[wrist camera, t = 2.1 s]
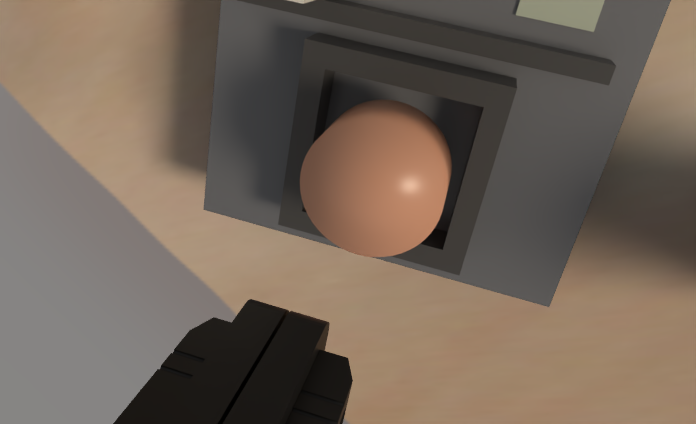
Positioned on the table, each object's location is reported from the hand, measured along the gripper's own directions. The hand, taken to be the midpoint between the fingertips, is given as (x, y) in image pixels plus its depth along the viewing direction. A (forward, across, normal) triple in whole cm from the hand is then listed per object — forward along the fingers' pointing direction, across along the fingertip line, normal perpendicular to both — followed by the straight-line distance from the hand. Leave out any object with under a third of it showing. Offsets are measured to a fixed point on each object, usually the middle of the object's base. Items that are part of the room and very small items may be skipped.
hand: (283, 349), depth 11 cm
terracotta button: (+10, 0, 0) cm, 10 cm away
